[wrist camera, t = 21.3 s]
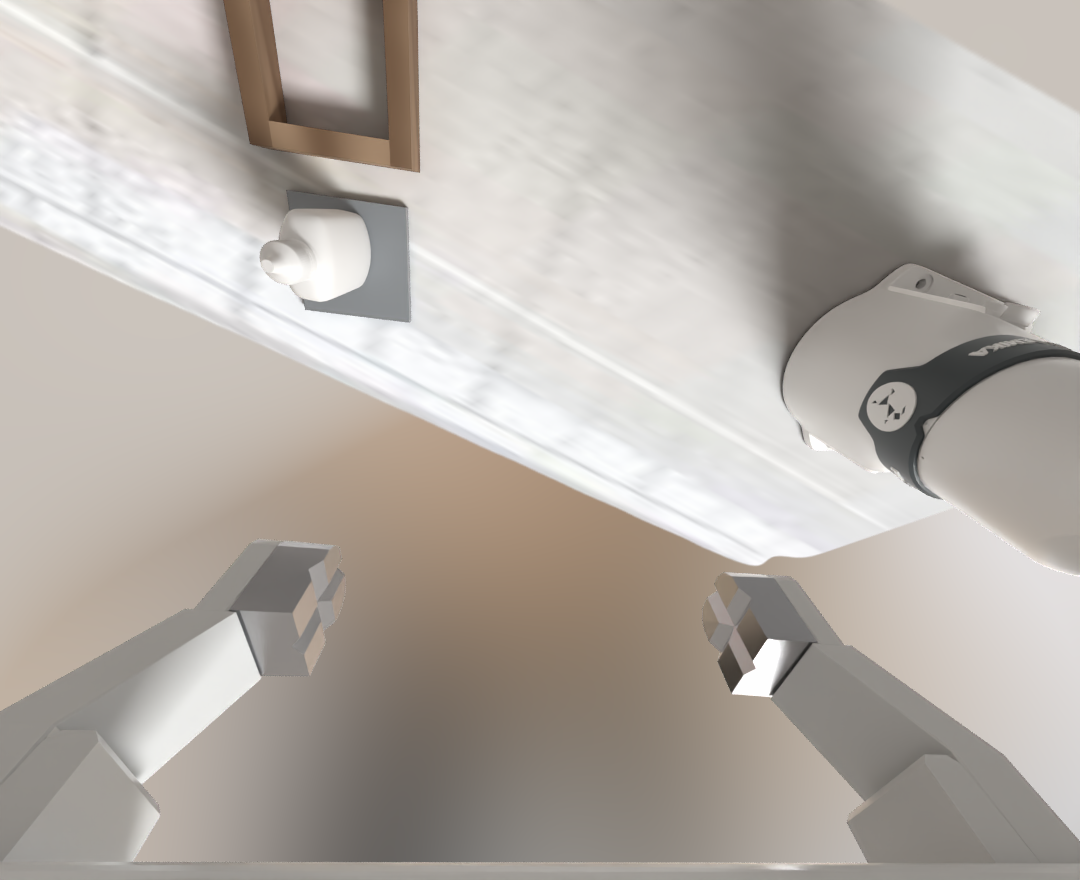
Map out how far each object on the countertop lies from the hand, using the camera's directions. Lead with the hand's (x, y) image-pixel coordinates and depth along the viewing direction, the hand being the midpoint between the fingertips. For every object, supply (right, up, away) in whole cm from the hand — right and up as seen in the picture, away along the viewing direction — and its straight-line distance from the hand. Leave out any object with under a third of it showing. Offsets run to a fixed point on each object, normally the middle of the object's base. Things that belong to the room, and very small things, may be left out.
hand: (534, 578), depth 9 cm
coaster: (-16, +18, +25) cm, 35 cm away
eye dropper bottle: (-15, +19, +24) cm, 34 cm away
